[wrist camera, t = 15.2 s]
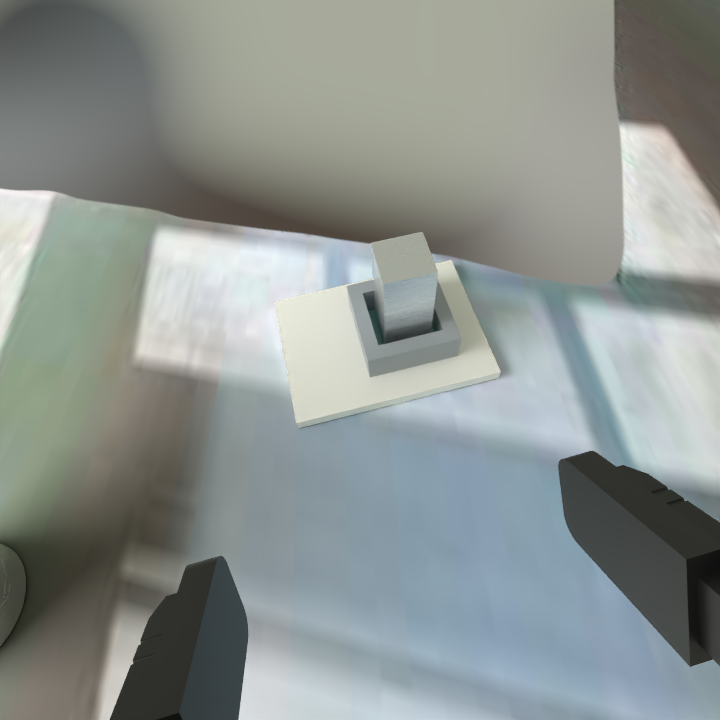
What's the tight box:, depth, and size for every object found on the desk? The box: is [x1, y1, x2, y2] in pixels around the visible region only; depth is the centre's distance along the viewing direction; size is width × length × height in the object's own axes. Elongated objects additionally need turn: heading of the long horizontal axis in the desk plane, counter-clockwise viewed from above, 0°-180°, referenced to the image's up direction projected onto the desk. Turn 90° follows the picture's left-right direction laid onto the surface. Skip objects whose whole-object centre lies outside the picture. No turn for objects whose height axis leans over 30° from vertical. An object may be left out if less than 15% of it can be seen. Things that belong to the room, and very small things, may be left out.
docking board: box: [274, 260, 501, 428], centre depth 42 cm, size 18×13×4 cm
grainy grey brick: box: [371, 232, 438, 344], centre depth 38 cm, size 4×4×10 cm
